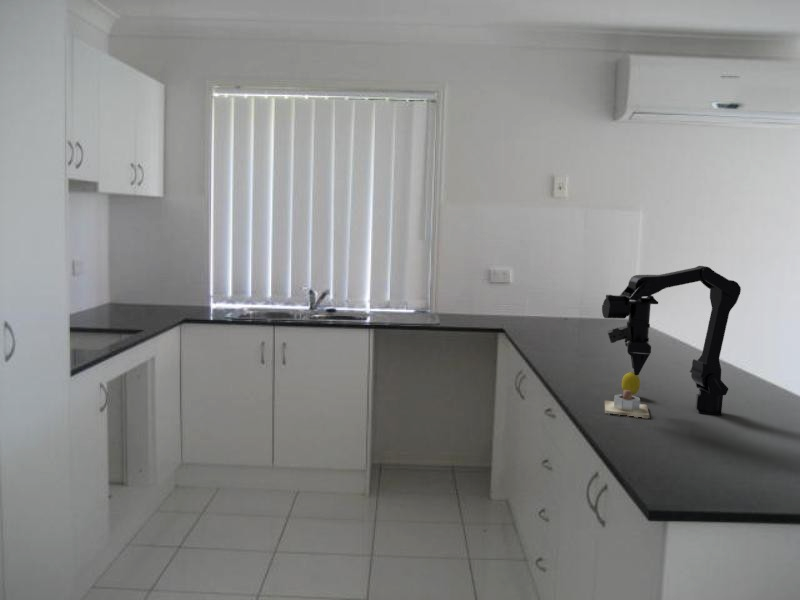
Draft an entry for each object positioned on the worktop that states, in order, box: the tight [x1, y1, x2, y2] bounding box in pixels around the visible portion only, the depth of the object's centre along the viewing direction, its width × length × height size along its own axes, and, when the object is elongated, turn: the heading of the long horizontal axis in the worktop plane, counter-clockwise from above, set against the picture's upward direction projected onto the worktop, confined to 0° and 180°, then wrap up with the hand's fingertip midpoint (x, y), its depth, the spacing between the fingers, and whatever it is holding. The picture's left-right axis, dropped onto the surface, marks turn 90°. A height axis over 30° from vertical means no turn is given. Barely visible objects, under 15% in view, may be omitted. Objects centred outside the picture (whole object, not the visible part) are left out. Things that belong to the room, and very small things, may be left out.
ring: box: [613, 393, 641, 411], centre depth 211 cm, size 7×7×3 cm
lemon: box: [621, 371, 641, 396], centre depth 229 cm, size 6×6×8 cm
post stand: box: [604, 390, 650, 419], centre depth 211 cm, size 12×12×6 cm
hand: (635, 371), depth 210 cm, fingers open, 9 cm apart
